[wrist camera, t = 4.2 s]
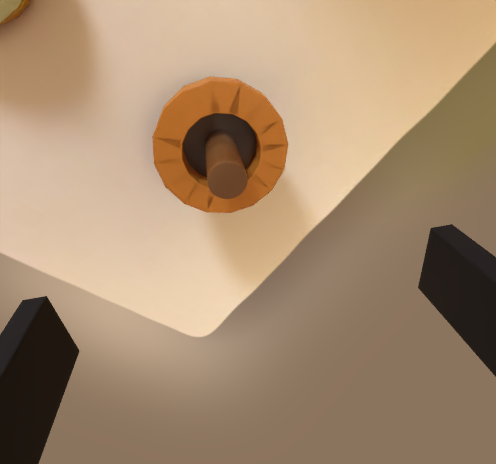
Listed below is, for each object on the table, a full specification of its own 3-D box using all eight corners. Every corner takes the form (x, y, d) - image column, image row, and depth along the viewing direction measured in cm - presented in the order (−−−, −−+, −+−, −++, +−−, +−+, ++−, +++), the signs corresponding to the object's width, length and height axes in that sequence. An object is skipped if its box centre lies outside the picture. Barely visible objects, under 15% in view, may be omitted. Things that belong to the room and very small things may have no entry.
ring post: (150, 128, 28) (127, 177, 18) (220, 59, 26) (234, 76, 17) (214, 191, 32) (222, 258, 22) (280, 135, 30) (318, 184, 20)
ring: (128, 140, 24) (123, 149, 23) (225, 45, 22) (227, 46, 20) (216, 221, 29) (217, 233, 27) (304, 150, 26) (311, 158, 25)
